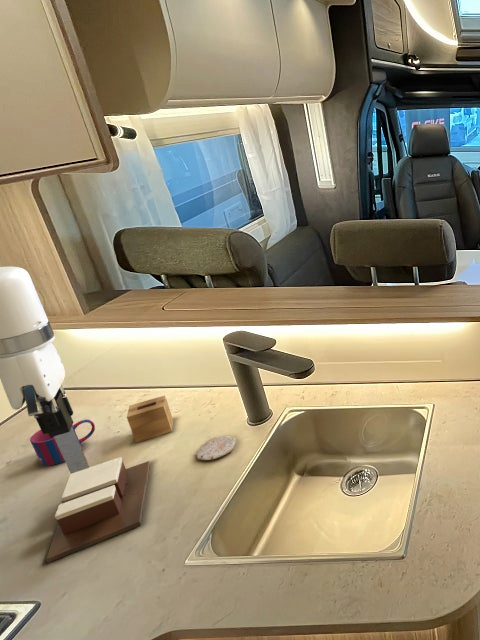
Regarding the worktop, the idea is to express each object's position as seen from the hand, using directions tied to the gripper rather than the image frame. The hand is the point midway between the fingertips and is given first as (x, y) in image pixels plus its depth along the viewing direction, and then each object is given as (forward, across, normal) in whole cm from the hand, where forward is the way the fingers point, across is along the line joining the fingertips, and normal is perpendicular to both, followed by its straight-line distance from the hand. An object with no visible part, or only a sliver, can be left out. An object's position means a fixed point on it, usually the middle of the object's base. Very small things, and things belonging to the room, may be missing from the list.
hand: (58, 423), depth 77 cm
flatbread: (+23, -6, +20) cm, 31 cm away
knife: (+12, 0, 0) cm, 12 cm away
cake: (+22, -4, 0) cm, 23 cm away
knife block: (+23, -22, +7) cm, 33 cm away
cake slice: (+22, +2, 0) cm, 22 cm away
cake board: (+23, -1, +1) cm, 23 cm away
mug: (+23, -25, -9) cm, 35 cm away
